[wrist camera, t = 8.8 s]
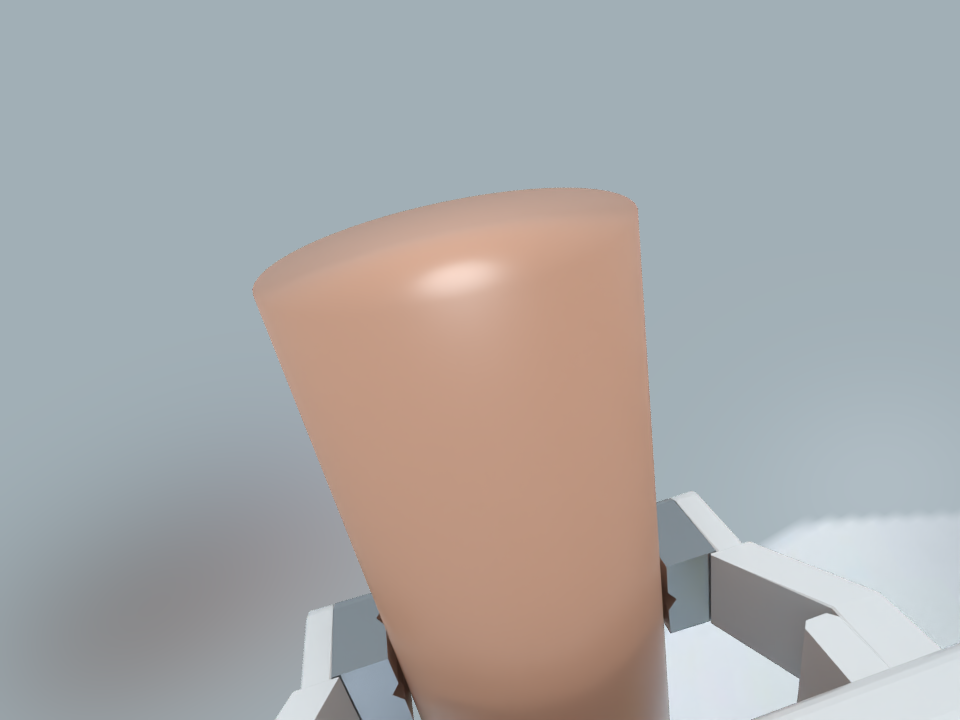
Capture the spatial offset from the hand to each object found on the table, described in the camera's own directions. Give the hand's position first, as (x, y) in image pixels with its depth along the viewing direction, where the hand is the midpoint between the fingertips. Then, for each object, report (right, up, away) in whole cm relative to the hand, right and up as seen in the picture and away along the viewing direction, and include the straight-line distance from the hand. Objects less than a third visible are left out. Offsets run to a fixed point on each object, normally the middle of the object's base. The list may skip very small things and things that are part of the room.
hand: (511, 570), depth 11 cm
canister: (+2, -10, +4) cm, 11 cm away
